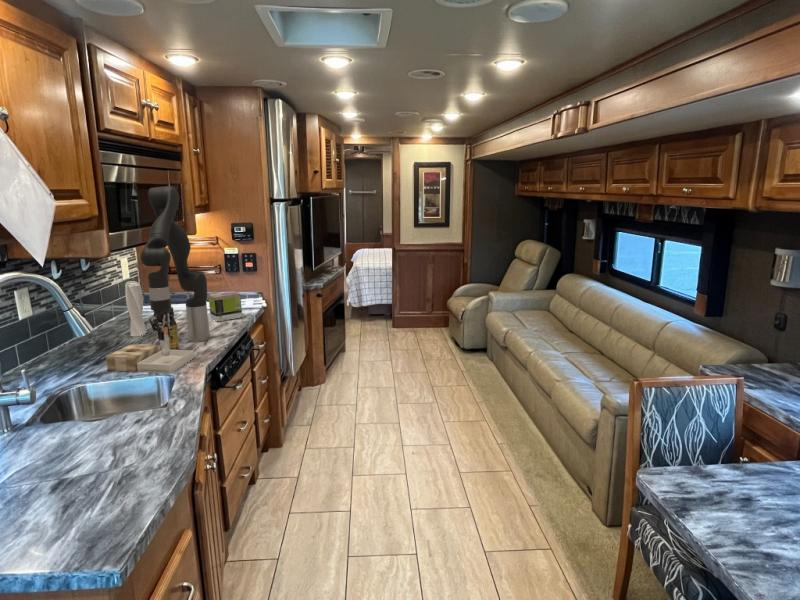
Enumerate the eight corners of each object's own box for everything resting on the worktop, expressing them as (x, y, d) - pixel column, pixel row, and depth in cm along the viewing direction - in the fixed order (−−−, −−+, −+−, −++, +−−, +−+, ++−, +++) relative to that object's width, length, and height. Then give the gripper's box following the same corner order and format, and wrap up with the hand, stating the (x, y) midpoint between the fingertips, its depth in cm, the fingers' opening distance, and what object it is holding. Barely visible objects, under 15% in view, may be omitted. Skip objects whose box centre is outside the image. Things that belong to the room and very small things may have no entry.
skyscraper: (141, 337, 235) (134, 281, 229) (126, 337, 235) (119, 281, 229) (150, 332, 243) (143, 279, 237) (135, 332, 243) (129, 278, 237)
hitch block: (133, 357, 207) (131, 343, 206) (159, 358, 206) (157, 345, 204) (107, 370, 192) (105, 356, 190) (135, 371, 190) (133, 357, 189)
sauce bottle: (173, 352, 213) (168, 309, 209) (160, 351, 214) (156, 309, 210) (182, 348, 219) (178, 306, 215) (170, 347, 220) (166, 305, 216)
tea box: (236, 315, 279) (234, 290, 276) (242, 318, 272) (241, 293, 269) (210, 319, 270) (208, 293, 267) (216, 322, 263) (214, 296, 259)
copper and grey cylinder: (164, 353, 199) (161, 325, 196) (171, 353, 199) (169, 326, 196) (160, 355, 196) (157, 328, 193) (167, 356, 195) (164, 328, 193)
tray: (164, 356, 208) (163, 349, 207) (194, 358, 206) (193, 350, 205) (137, 371, 190) (136, 363, 189) (170, 373, 189) (169, 365, 188)
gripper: (161, 294, 199) (165, 333, 203) (140, 301, 186) (145, 343, 189) (178, 294, 198) (182, 334, 202) (158, 301, 185) (162, 344, 188)
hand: (164, 338), depth 196 cm, fingers closed on copper and grey cylinder, 3 cm apart
